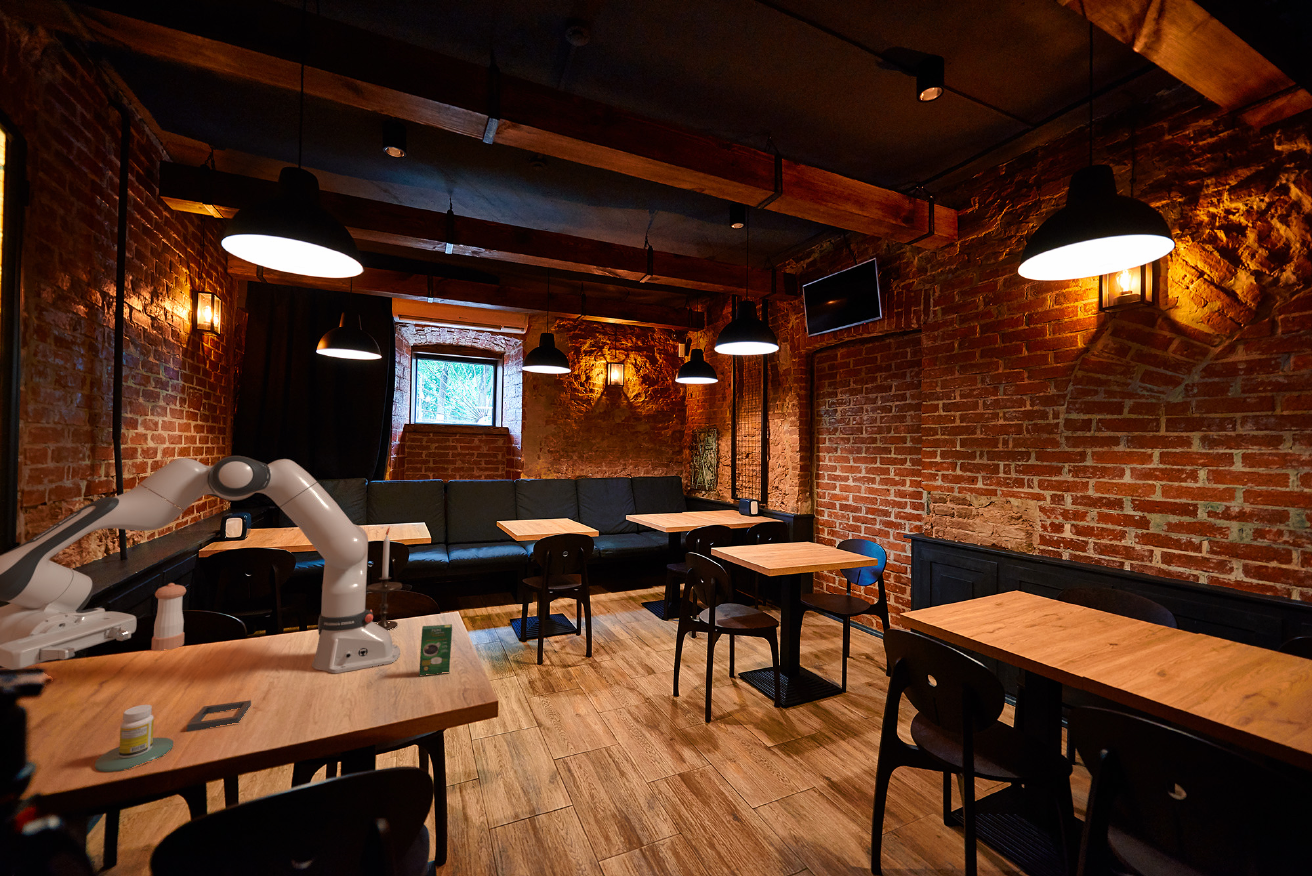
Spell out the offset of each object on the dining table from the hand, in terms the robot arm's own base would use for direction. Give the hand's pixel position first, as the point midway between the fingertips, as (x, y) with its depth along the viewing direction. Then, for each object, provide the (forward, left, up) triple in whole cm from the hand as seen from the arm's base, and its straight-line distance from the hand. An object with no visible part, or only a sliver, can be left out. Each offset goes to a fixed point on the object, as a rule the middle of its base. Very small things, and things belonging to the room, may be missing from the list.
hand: (99, 644), depth 108 cm
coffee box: (-64, -15, -21) cm, 69 cm away
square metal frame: (-19, -5, -20) cm, 29 cm away
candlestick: (-48, -61, -21) cm, 81 cm away
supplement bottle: (-9, +7, -20) cm, 23 cm away
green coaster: (-9, +7, -20) cm, 24 cm away
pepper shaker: (+11, -63, -21) cm, 67 cm away
